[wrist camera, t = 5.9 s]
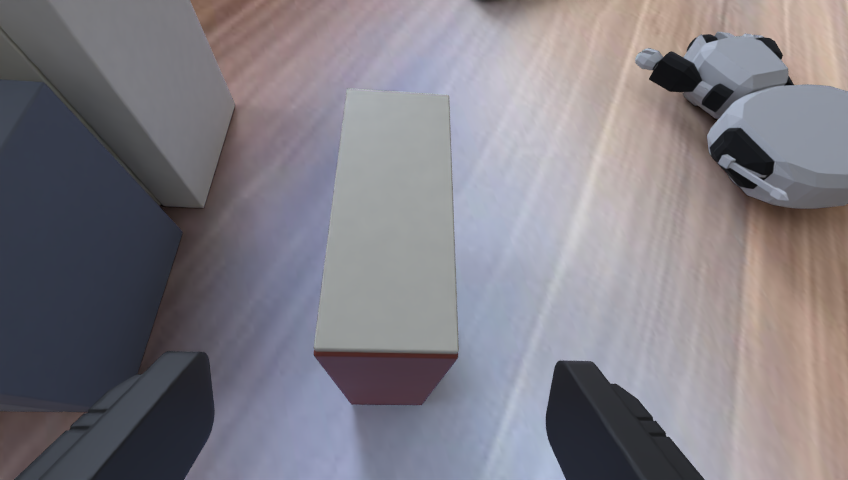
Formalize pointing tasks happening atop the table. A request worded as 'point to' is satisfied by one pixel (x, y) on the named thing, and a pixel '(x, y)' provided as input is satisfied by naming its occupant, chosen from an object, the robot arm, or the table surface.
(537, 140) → the table surface
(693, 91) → the robot toy
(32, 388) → the grey books
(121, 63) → the white books
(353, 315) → the cream book
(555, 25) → the table surface
